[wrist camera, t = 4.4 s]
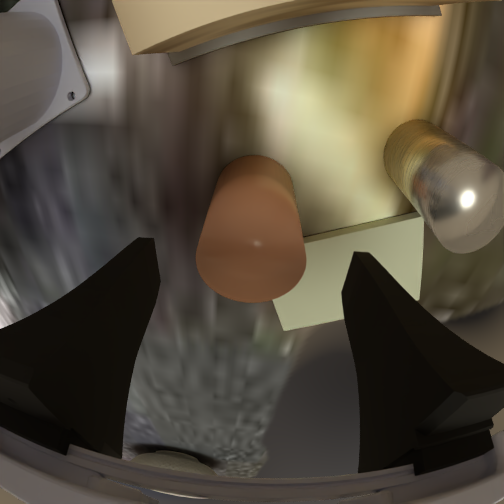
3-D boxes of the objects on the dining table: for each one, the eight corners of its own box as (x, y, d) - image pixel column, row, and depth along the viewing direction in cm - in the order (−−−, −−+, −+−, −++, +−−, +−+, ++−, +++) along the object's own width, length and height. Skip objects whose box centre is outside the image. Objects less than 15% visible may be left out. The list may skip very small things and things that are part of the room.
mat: (283, 324, 22) (283, 331, 22) (255, 248, 18) (255, 255, 18) (416, 294, 20) (419, 299, 20) (419, 211, 16) (423, 216, 16)
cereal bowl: (221, 449, 42) (218, 489, 36) (223, 471, 51) (221, 501, 46) (119, 433, 41) (111, 470, 36) (143, 459, 51) (137, 488, 46)
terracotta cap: (230, 231, 18) (219, 310, 13) (205, 167, 15) (177, 231, 11) (300, 214, 17) (314, 291, 12) (282, 146, 15) (292, 202, 10)
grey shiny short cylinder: (387, 194, 16) (432, 262, 11) (378, 125, 14) (435, 171, 9) (447, 182, 15) (504, 241, 10) (444, 115, 13) (516, 157, 8)
